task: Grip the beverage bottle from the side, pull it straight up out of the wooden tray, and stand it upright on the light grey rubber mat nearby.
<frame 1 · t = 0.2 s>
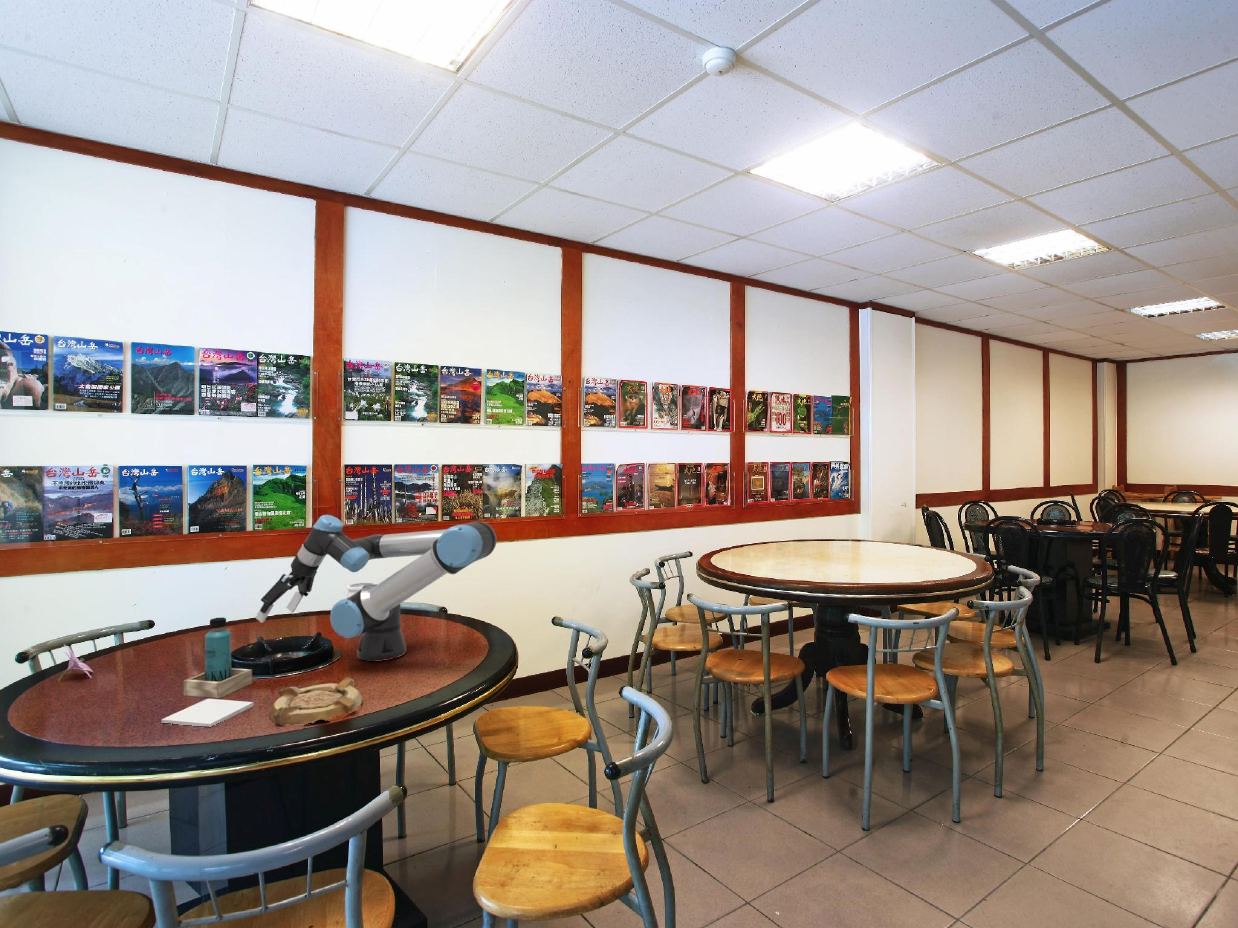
hand: (275, 614, 208), 15 cm above the table, tool tilted 35°, fingers open, 13 cm apart
rubber mat: (209, 714, 167), on the table
beverage bottle: (218, 689, 185), resting in wooden tray
wooden tray: (218, 689, 185), on the table
ashtray: (316, 710, 171), on the table
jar: (361, 624, 256), on the table
lily: (77, 679, 195), on the table
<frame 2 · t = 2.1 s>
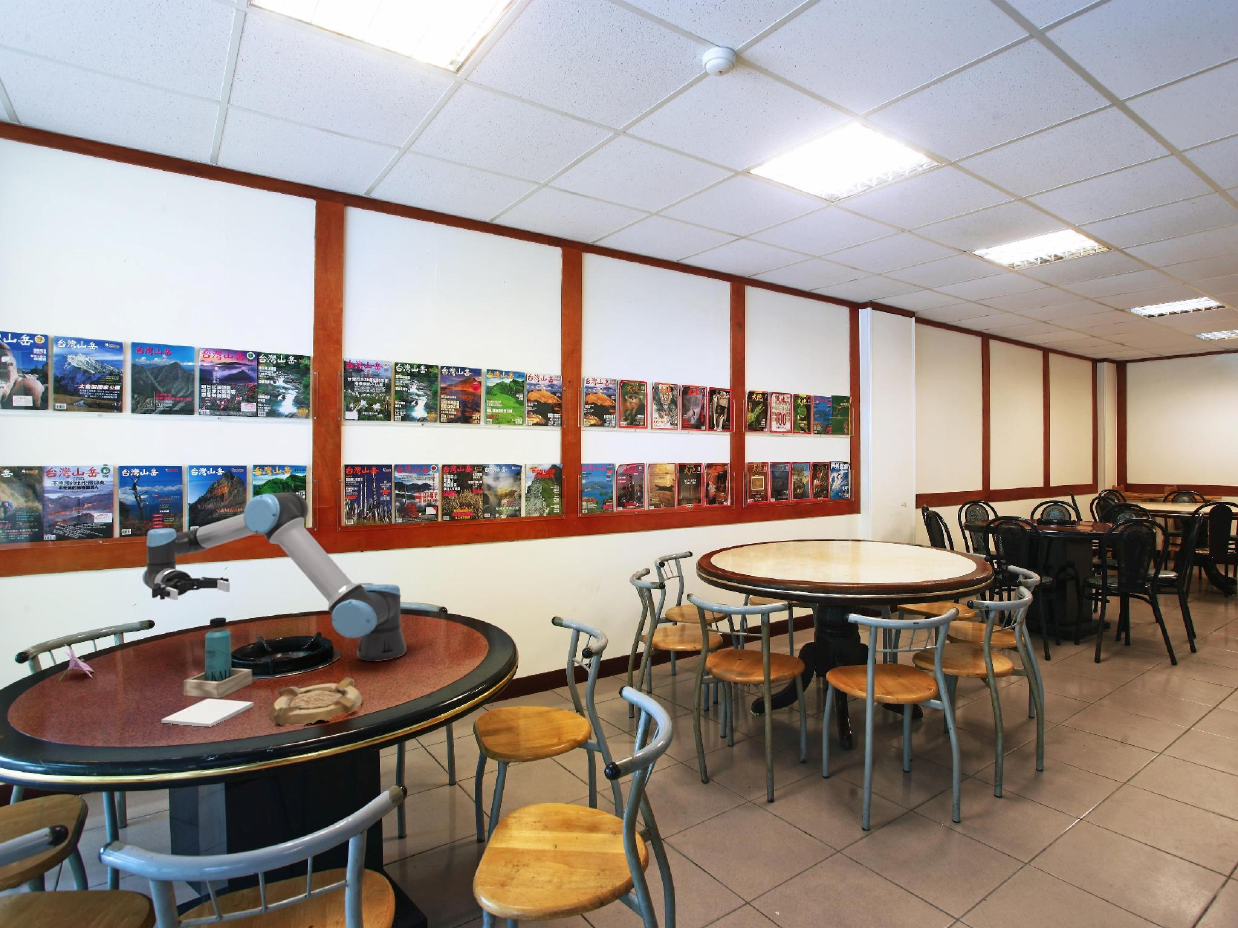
hand: (203, 591, 190), 26 cm above the table, tool horizontal, fingers open, 13 cm apart
nothing on the table moved.
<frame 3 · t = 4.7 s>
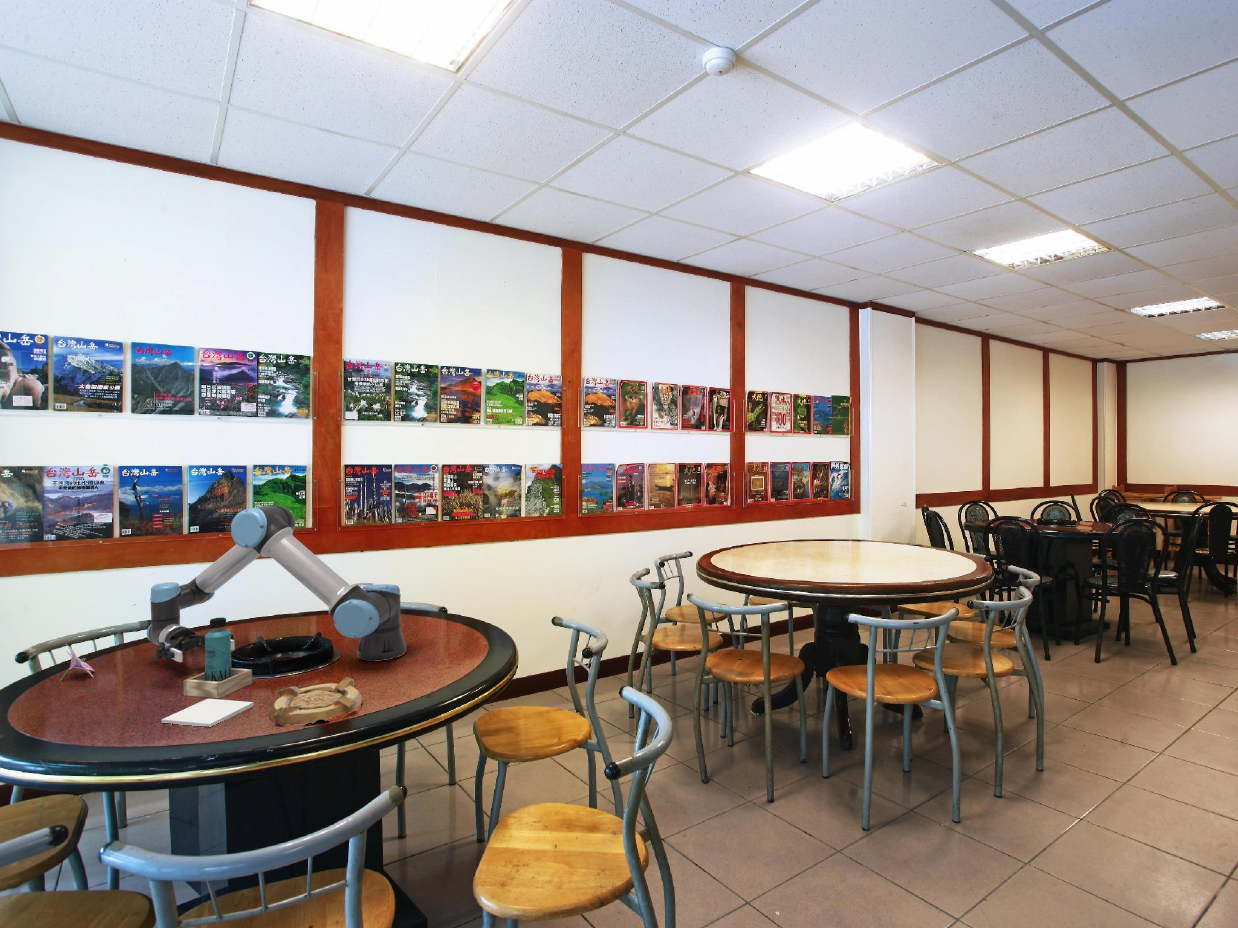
hand: (207, 651, 188), 10 cm above the table, tool horizontal, fingers open, 13 cm apart
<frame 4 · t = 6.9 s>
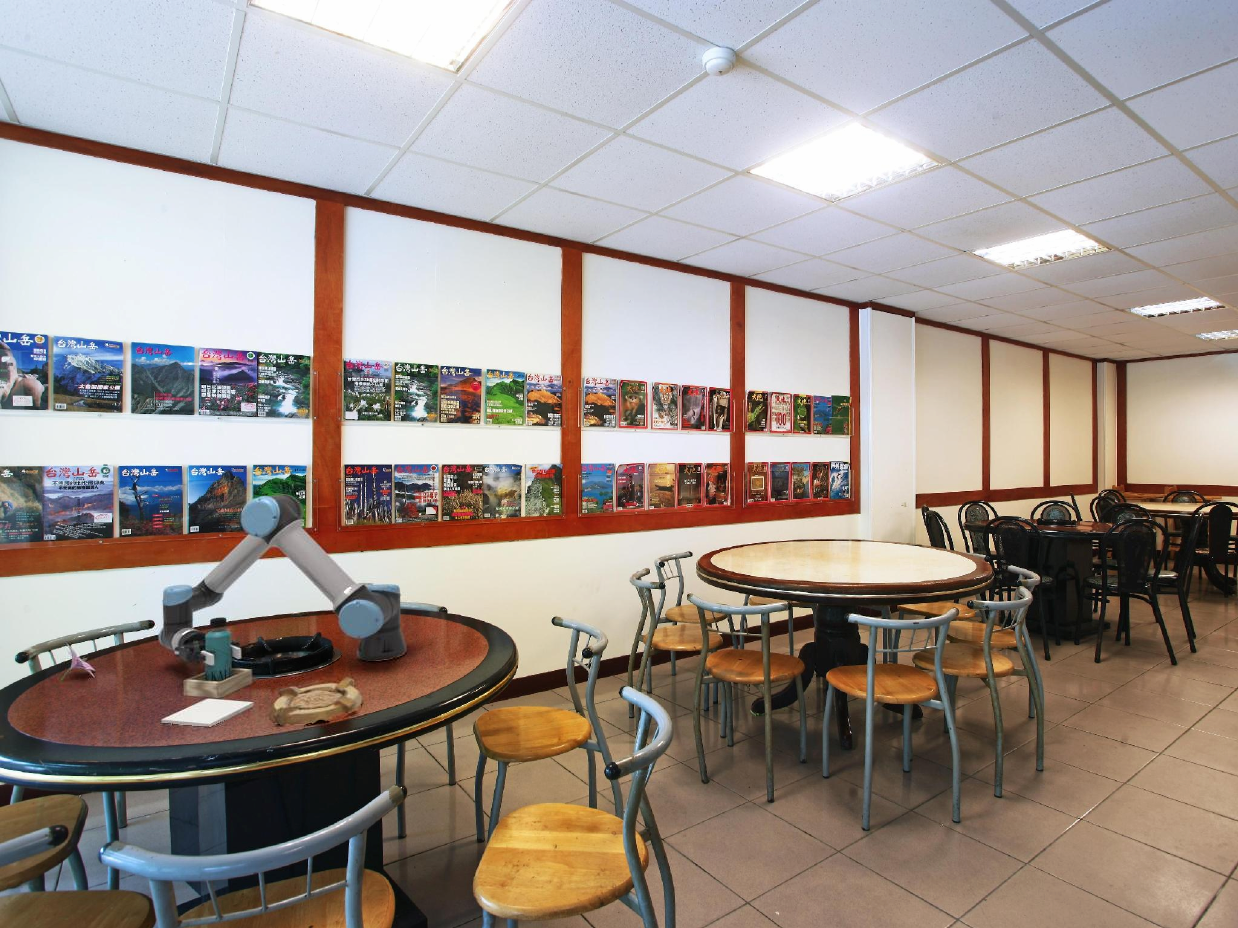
hand: (226, 656, 182), 10 cm above the table, tool horizontal, fingers closed on beverage bottle, 6 cm apart
beverage bottle: (218, 689, 185), resting in wooden tray, touching gripper
everything else where it was.
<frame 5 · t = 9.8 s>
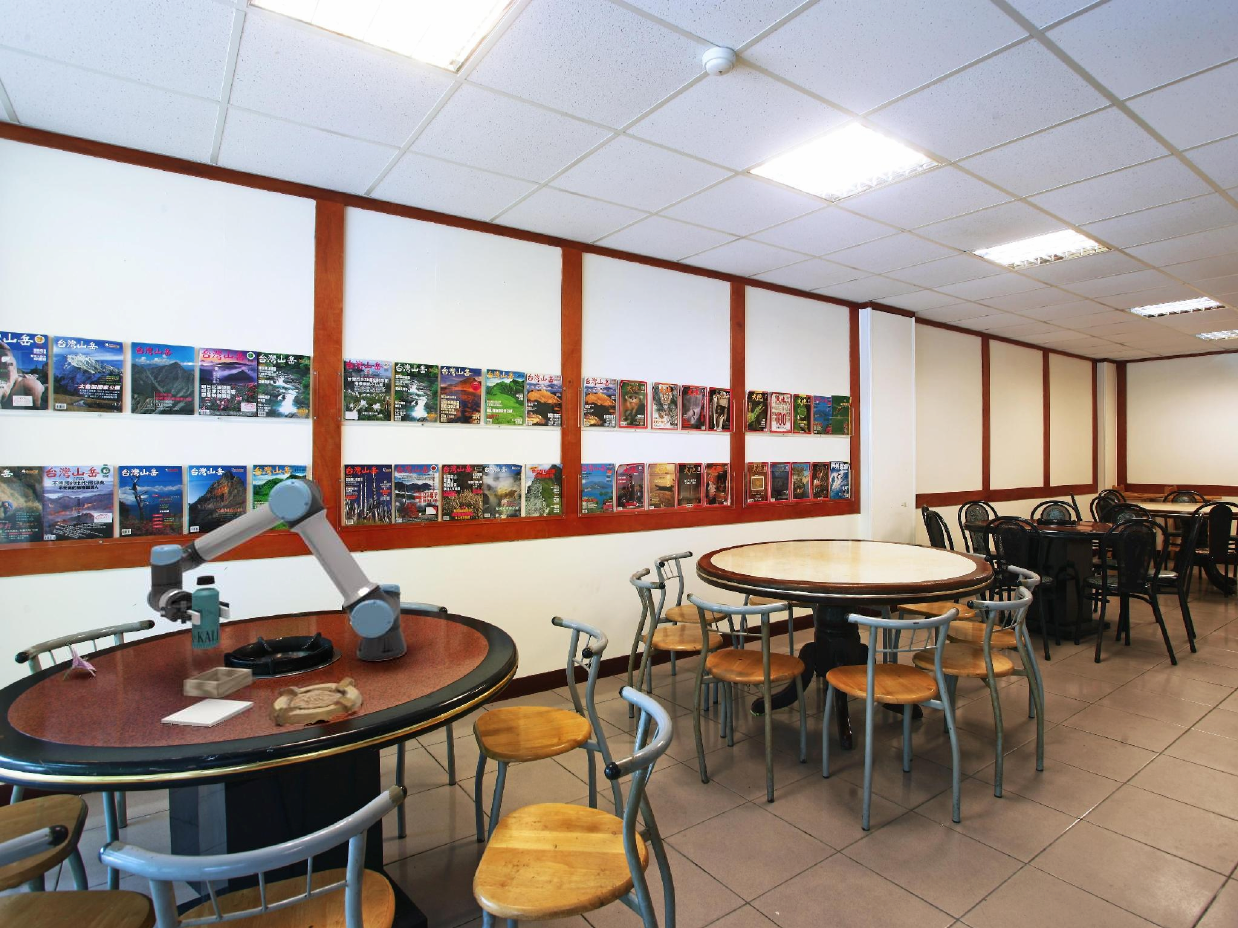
hand: (213, 616, 170), 24 cm above the table, tool horizontal, fingers closed on beverage bottle, 6 cm apart
beverage bottle: (206, 652, 174), point 14 cm above the table, touching gripper
when the fingers open (11 cm above the table, at t = 12.5 s): beverage bottle stays where it is, resting on rubber mat.
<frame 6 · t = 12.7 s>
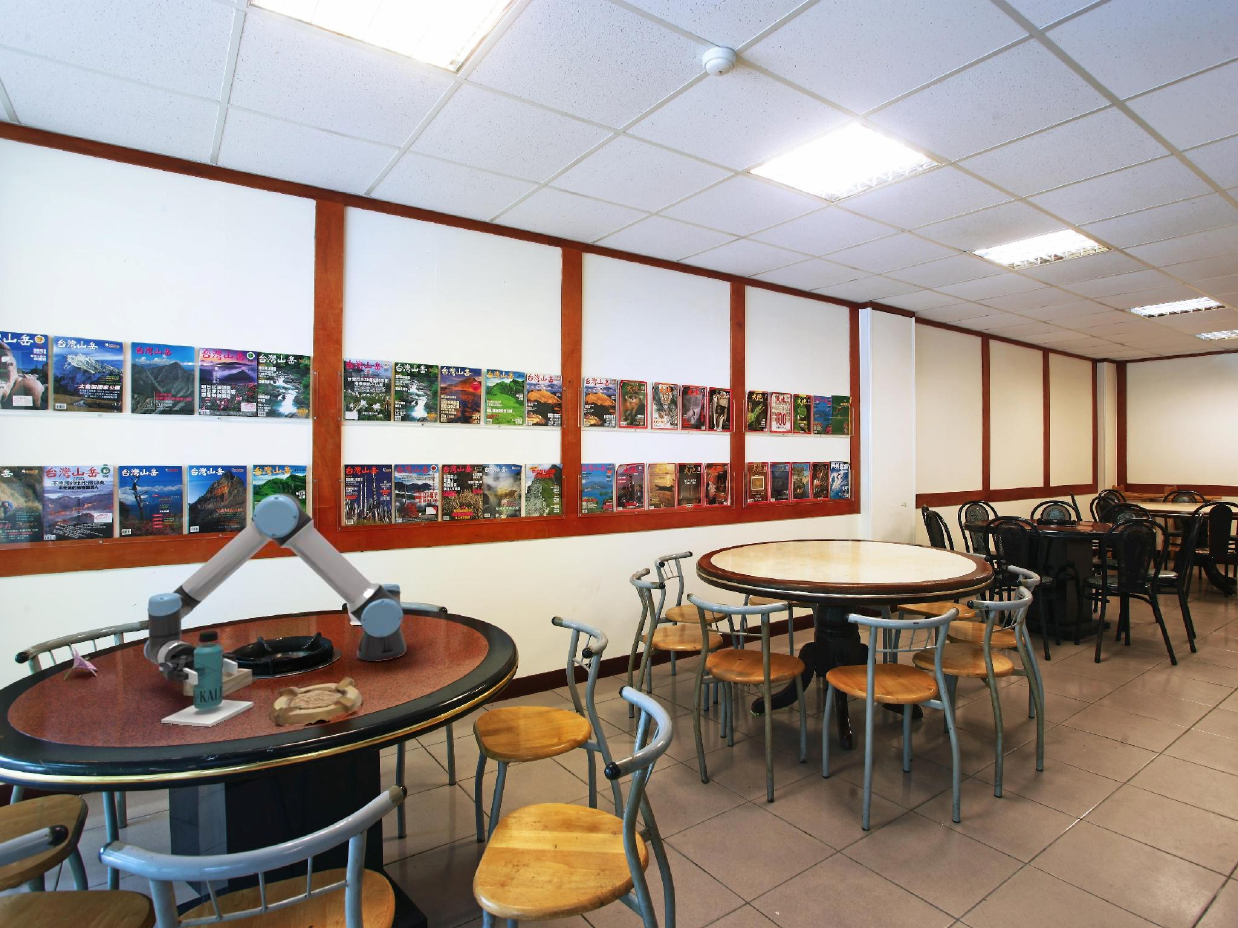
hand: (216, 673, 164), 11 cm above the table, tool horizontal, fingers open, 8 cm apart
beverage bottle: (208, 711, 167), point 1 cm above the table, touching rubber mat
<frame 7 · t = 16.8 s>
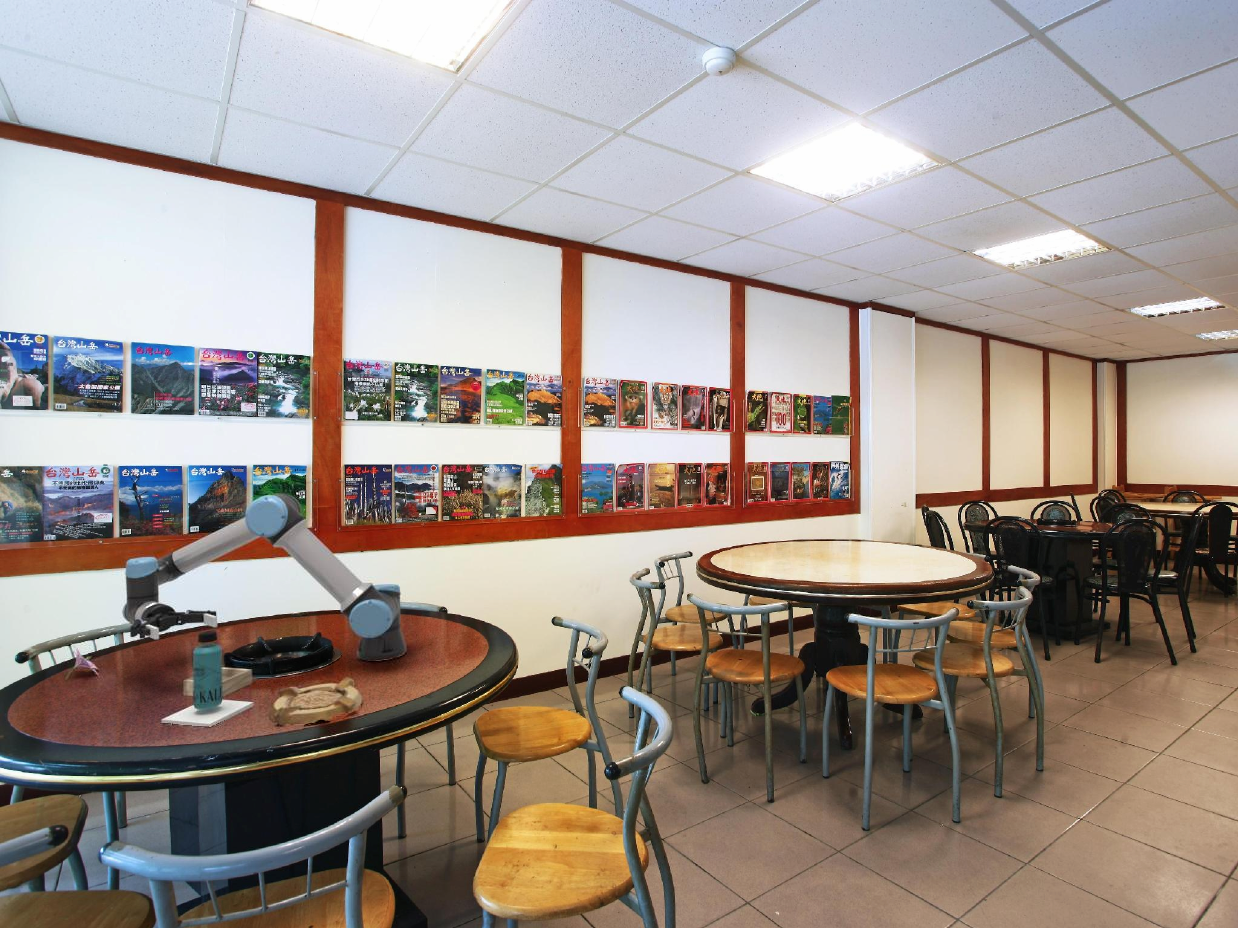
hand: (187, 627, 172), 21 cm above the table, tool horizontal, fingers open, 13 cm apart
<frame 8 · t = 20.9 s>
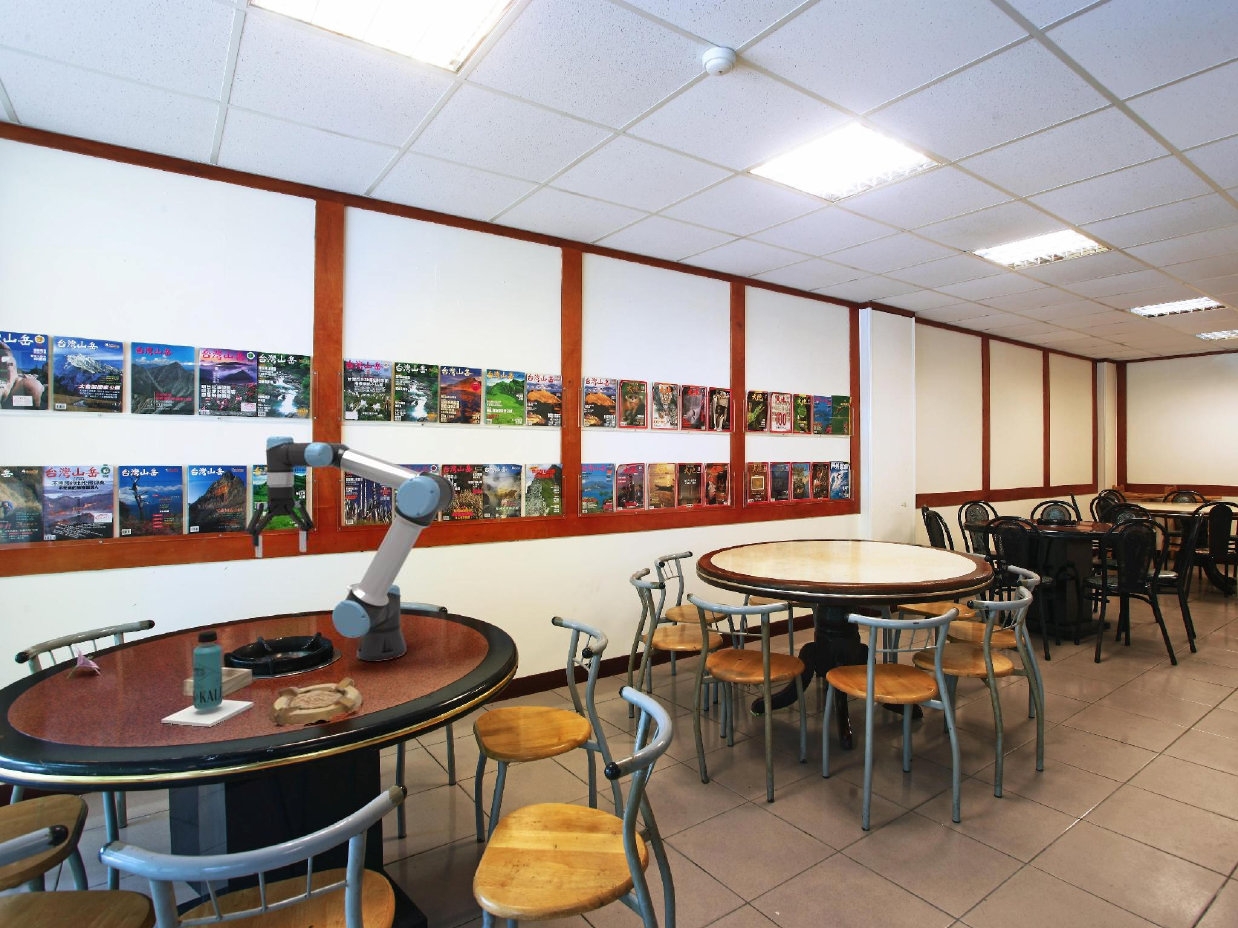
hand: (281, 554, 205), 35 cm above the table, tool pointing down, fingers open, 13 cm apart
at the end: beverage bottle inside the target area on the rubber mat (0.1 cm from its centre), point 0.8 cm above the rubber mat's base; beverage bottle tilted 0°; the gripper is holding nothing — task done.
